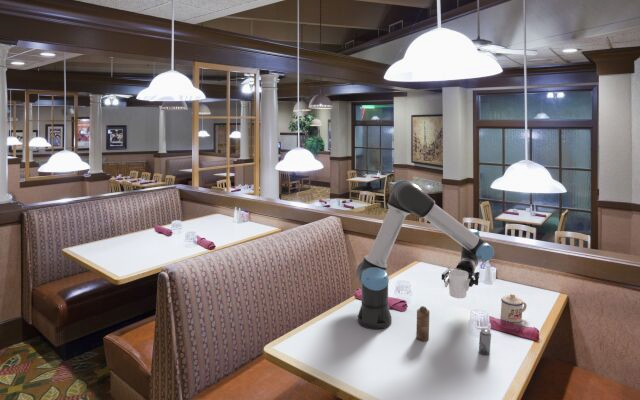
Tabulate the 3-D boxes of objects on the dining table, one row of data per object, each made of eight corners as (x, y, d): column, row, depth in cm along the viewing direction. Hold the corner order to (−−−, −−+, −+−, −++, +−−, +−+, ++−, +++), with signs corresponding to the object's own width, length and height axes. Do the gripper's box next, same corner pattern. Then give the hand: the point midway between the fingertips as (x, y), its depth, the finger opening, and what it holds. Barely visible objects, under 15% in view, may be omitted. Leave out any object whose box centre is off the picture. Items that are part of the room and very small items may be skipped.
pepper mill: (414, 339, 172) (415, 307, 169) (418, 334, 176) (418, 303, 173) (426, 342, 169) (427, 310, 167) (430, 336, 173) (431, 305, 171)
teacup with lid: (508, 324, 183) (510, 299, 181) (495, 315, 192) (497, 291, 189) (532, 321, 186) (534, 296, 183) (518, 312, 194) (520, 288, 192)
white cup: (468, 299, 171) (470, 276, 169) (448, 298, 173) (449, 275, 171) (466, 292, 179) (467, 269, 177) (447, 291, 180) (447, 269, 178)
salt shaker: (477, 353, 160) (479, 331, 159) (479, 348, 164) (480, 327, 162) (489, 356, 159) (490, 334, 157) (490, 351, 162) (491, 329, 160)
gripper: (489, 279, 186) (482, 299, 166) (442, 272, 195) (430, 290, 176) (490, 263, 184) (483, 281, 165) (443, 257, 194) (431, 273, 174)
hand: (456, 285), depth 170 cm, fingers closed on white cup, 8 cm apart
